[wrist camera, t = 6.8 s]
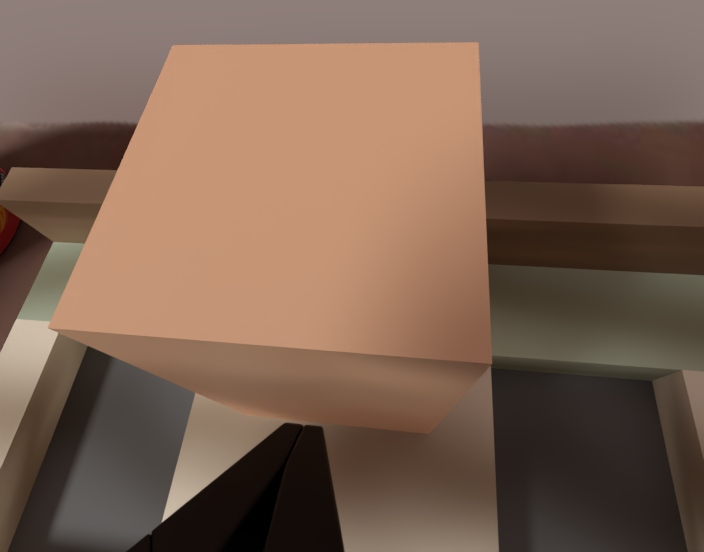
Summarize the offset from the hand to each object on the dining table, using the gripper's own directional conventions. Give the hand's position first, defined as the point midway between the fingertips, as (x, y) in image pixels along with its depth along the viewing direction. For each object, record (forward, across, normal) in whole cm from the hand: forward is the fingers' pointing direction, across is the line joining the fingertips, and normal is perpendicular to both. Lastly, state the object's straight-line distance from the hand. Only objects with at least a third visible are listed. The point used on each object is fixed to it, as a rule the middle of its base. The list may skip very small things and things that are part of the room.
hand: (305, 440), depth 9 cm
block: (+6, 0, +1) cm, 6 cm away
